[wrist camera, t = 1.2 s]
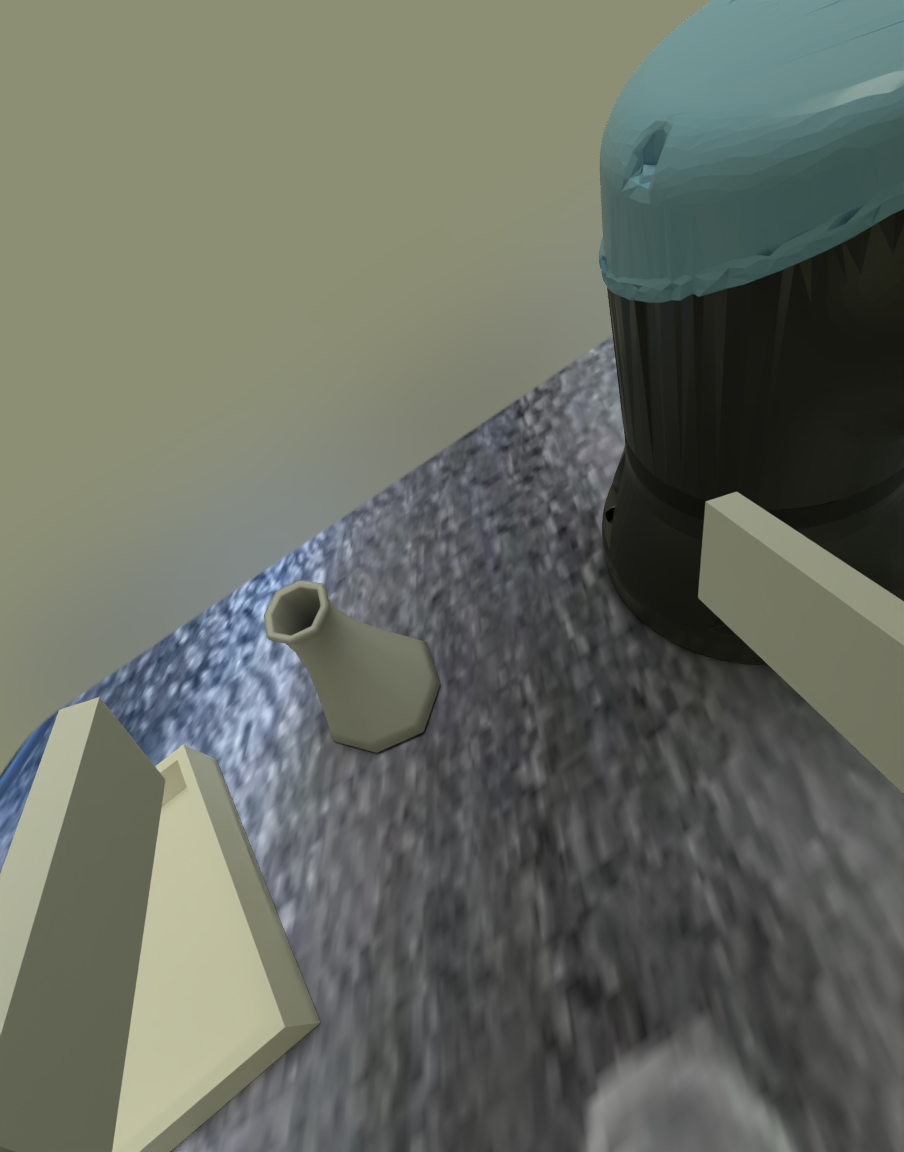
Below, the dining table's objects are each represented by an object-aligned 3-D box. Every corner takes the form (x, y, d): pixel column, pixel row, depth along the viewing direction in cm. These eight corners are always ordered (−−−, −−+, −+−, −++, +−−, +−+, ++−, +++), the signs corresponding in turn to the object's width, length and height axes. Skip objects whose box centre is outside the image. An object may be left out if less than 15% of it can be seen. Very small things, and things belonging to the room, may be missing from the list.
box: (216, 759, 36) (183, 744, 33) (320, 1022, 27) (284, 1027, 24) (-3, 931, 34) (-54, 928, 32) (27, 1274, 25) (-41, 1306, 23)
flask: (334, 644, 38) (241, 557, 30) (443, 628, 36) (374, 530, 28) (319, 760, 34) (207, 694, 26) (440, 748, 32) (360, 673, 24)
